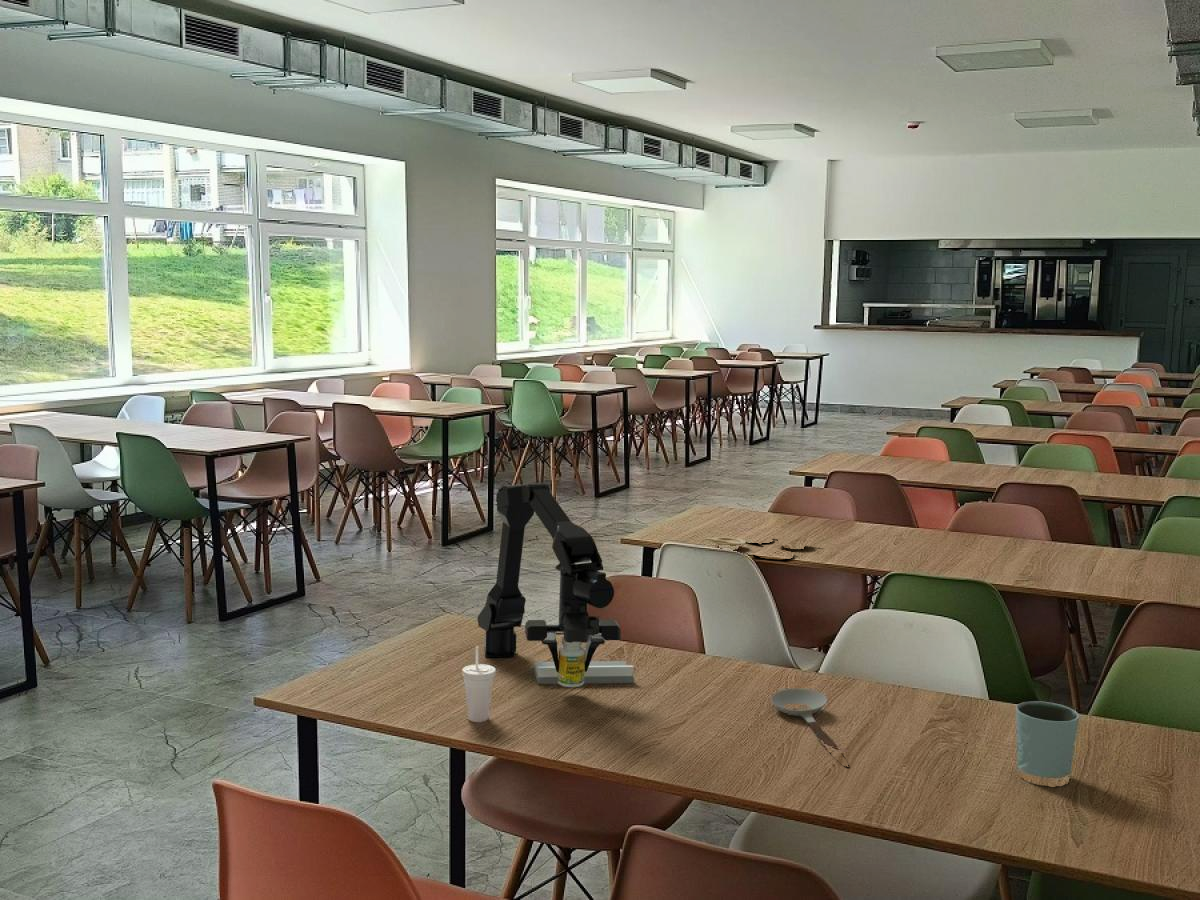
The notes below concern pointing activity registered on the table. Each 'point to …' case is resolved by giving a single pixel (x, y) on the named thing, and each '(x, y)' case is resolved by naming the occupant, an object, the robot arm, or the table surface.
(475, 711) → the smoothie
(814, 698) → the grey frying pan
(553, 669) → the grey panel
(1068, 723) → the grey-green cup
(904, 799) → the table surface
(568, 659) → the supplement bottle
